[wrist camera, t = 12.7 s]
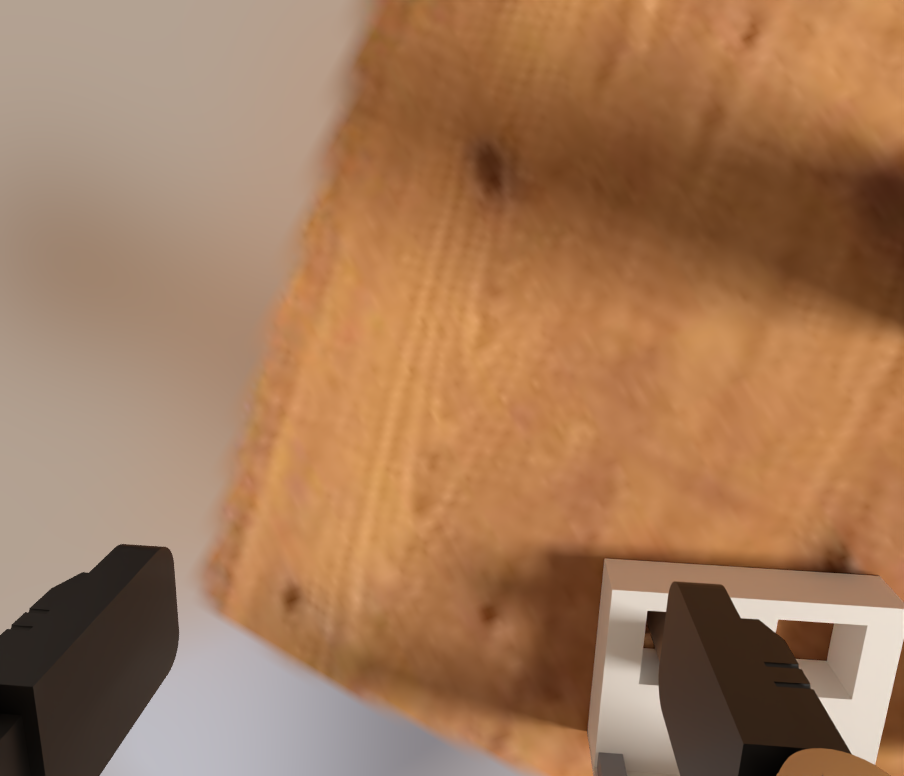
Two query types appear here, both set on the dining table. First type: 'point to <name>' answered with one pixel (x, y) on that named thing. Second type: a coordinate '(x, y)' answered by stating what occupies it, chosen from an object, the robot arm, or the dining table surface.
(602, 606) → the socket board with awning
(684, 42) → the dining table surface
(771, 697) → the robot arm
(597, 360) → the dining table surface
